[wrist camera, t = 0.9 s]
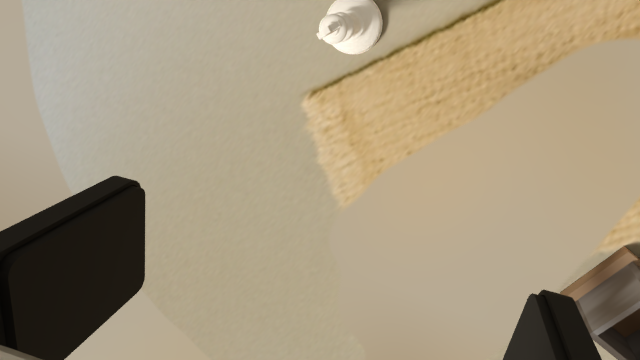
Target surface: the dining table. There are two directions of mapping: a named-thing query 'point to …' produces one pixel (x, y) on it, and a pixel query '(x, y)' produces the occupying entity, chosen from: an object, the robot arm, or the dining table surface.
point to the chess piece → (351, 25)
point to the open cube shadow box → (612, 303)
